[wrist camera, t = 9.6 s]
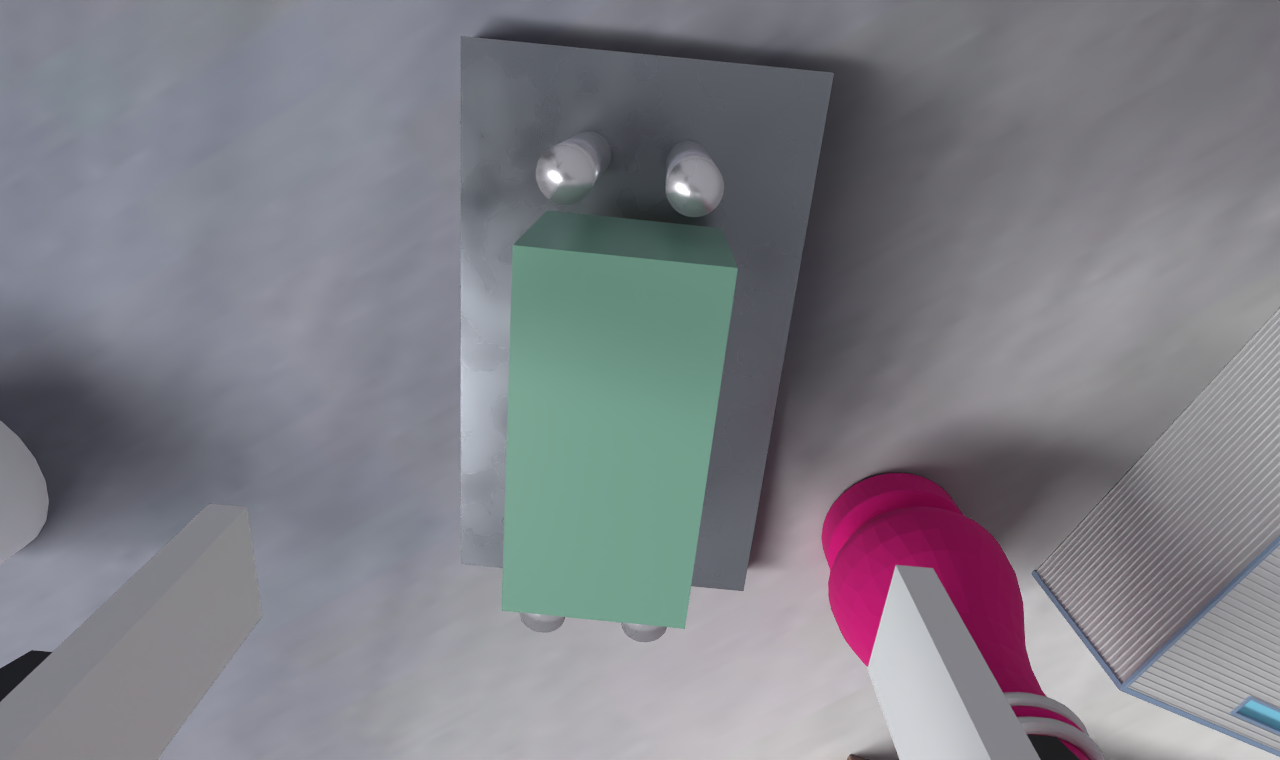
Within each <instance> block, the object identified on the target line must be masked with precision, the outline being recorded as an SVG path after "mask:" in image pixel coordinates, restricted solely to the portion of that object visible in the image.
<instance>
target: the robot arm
mask: <svg viewBox="0 0 1280 760" xmlns="http://www.w3.org/2000/svg"><path fill="white" fill-rule="evenodd" d="M261 617H262V611H261V603H260V596H259V589H258V581H257V574H256V566H255V559H254V552H253V544H252V537H251V529H250V522H249V515H248V507H242V506H231V505H219V504H208V505H207V506H206V507H205V508H204V509H203V510H202V511H201V512H200V513H199V514H198V515H197V516H196V517H194V518H193V519H192V520H191V521H190V522H189V523H188V524H187V525H186V526H185V527H184V528H183V529H182V530H181V531H180V532H179V533H178V534H177V535H176V536H174V537H173V538H172V539H171V540H170V541H169V542H168V543H167V544H166V545H165V546H164V547H163V548H162V549H161V550H160V551H159V552H158V553H157V554H156V555H154V556H153V557H152V558H151V559H150V560H149V561H148V562H147V563H146V564H145V565H144V566H143V567H142V568H141V569H140V570H139V571H138V572H137V573H135V574H134V575H133V576H132V577H131V578H130V579H129V580H128V581H127V582H126V583H125V584H124V585H123V586H122V587H121V588H120V589H119V590H118V591H117V592H115V593H114V594H113V595H112V596H111V597H110V598H109V599H108V600H107V601H106V602H105V603H104V604H103V605H102V606H101V607H100V608H99V609H98V610H97V611H95V612H94V613H93V614H92V615H91V616H90V617H89V618H88V619H87V620H86V621H85V622H84V623H83V624H82V625H81V626H80V627H79V628H78V629H77V630H75V631H74V632H73V633H72V634H71V635H70V636H69V637H68V638H67V639H66V640H65V641H64V642H63V643H62V644H61V645H60V646H59V647H58V648H56V649H55V650H54V651H53V652H44V651H33V650H32V651H30V652H28V653H26V654H25V655H23V656H21V657H19V658H18V659H16V660H14V661H13V662H11V663H9V664H7V665H6V666H4V667H2V668H0V760H157V759H158V758H159V756H160V755H161V754H162V752H163V751H164V750H165V748H166V747H167V745H168V744H169V743H170V741H171V740H172V739H173V737H174V736H175V735H176V733H177V732H178V730H179V729H180V728H181V726H182V725H183V724H184V722H185V721H186V720H187V718H188V717H189V715H190V714H191V713H192V711H193V710H194V709H195V707H196V706H197V705H198V703H199V702H200V700H201V699H202V698H203V696H204V695H205V694H206V692H207V691H208V690H209V688H210V687H211V686H212V684H213V683H214V681H215V680H216V679H217V677H218V676H219V675H220V673H221V672H222V671H223V669H224V668H225V666H226V665H227V664H228V662H229V661H230V660H231V658H232V657H233V656H234V654H235V653H236V651H237V650H238V649H239V647H240V646H241V645H242V643H243V642H244V641H245V639H246V638H247V636H248V635H249V634H250V632H251V631H252V630H253V628H254V627H255V626H256V624H257V623H258V621H259V620H260V619H261ZM867 670H868V672H869V675H870V678H871V681H872V684H873V687H874V689H875V692H876V695H877V698H878V701H879V703H880V706H881V709H882V712H883V715H884V718H885V720H886V723H887V726H888V729H889V732H890V734H891V737H892V740H893V743H894V746H895V749H896V751H897V754H898V757H899V760H1080V759H1079V758H1078V757H1077V756H1076V755H1075V754H1074V753H1073V752H1072V751H1071V750H1069V749H1068V748H1067V747H1066V746H1065V745H1064V744H1063V743H1062V742H1061V741H1060V740H1059V739H1058V738H1057V737H1053V736H1041V735H1030V734H1026V733H1025V731H1024V729H1023V727H1022V726H1021V724H1020V722H1019V720H1018V718H1017V717H1016V715H1015V713H1014V711H1013V710H1012V708H1011V706H1010V704H1009V702H1008V701H1007V699H1006V697H1005V695H1004V694H1003V692H1002V690H1001V688H1000V686H999V685H998V683H997V681H996V679H995V678H994V676H993V674H992V672H991V670H990V669H989V667H988V665H987V663H986V662H985V660H984V658H983V656H982V654H981V653H980V651H979V649H978V647H977V645H976V644H975V642H974V640H973V638H972V637H971V635H970V633H969V631H968V629H967V628H966V626H965V624H964V622H963V621H962V619H961V617H960V615H959V613H958V612H957V610H956V608H955V606H954V605H953V603H952V601H951V599H950V597H949V596H948V594H947V592H946V590H945V589H944V587H943V585H942V583H941V581H940V580H939V578H938V576H937V574H936V572H935V571H934V569H933V568H925V567H914V566H903V565H896V566H895V569H894V573H893V577H892V580H891V584H890V588H889V591H888V595H887V599H886V603H885V606H884V610H883V613H882V617H881V621H880V625H879V628H878V632H877V636H876V639H875V643H874V647H873V650H872V654H871V658H870V661H869V665H868V669H867Z"/></svg>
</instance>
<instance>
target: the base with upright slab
mask: <svg viewBox="0 0 1280 760" xmlns="http://www.w3.org/2000/svg"><path fill="white" fill-rule="evenodd" d="M48 506H49V498H48V492H47V487H46V481H45V478H44V476H43V474H42V472H41V470H40V468H39V465H38V463H37V461H36V459H35V457H34V456H33V455H32V453H31V452H30V451H29V449H28V448H27V447H26V446H25V444H24V443H23V442H22V440H21V439H20V438H19V437H18V436H17V435H16V434H15V433H14V432H13V431H12V430H11V429H9V428H8V427H7V426H6V425H5V424H4V423H3V422H2V421H0V564H1V563H3V562H4V561H6V560H7V559H8V558H10V557H11V556H13V555H14V554H15V553H17V552H18V551H20V550H21V549H22V548H24V547H25V546H26V545H27V544H29V543H30V542H31V541H32V540H34V539H35V538H36V537H37V536H38V534H39V533H40V531H41V529H42V527H43V526H44V524H45V522H46V519H47V512H48Z"/></svg>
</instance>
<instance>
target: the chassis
mask: <svg viewBox="0 0 1280 760" xmlns="http://www.w3.org/2000/svg"><path fill="white" fill-rule="evenodd" d="M833 77H834V73H832V72H822V71H812V70H802V69H791V68H781V67H771V66H761V65H751V64H741V63H730V62H720V61H710V60H700V59H690V58H680V57H669V56H659V55H649V54H639V53H629V52H618V51H608V50H598V49H588V48H578V47H568V46H557V45H547V44H537V43H527V42H517V41H507V40H496V39H486V38H476V37H466V36H461V564H466V565H477V566H487V567H498V568H503V548H504V515H505V482H506V449H507V417H508V384H509V351H510V318H511V285H512V252H513V244H514V243H515V242H516V241H517V240H518V239H519V238H520V237H521V236H522V235H523V234H524V233H525V232H526V231H527V230H528V229H529V228H530V227H531V226H532V225H533V224H534V223H535V222H536V221H537V220H538V219H539V218H540V217H541V216H542V215H543V214H544V213H545V212H546V211H547V210H548V211H558V212H568V213H577V214H587V215H597V216H607V217H617V218H626V219H636V220H646V221H656V222H666V223H676V224H685V225H695V226H705V227H715V228H722V230H723V233H724V235H725V237H726V240H727V242H728V245H729V247H730V250H731V252H732V255H733V257H734V260H735V262H736V265H737V267H738V271H737V277H736V284H735V291H734V298H733V304H732V311H731V318H730V325H729V332H728V338H727V345H726V352H725V359H724V366H723V372H722V379H721V386H720V393H719V399H718V406H717V413H716V420H715V427H714V433H713V440H712V447H711V454H710V461H709V467H708V474H707V481H706V488H705V495H704V501H703V508H702V515H701V522H700V528H699V535H698V542H697V549H696V556H695V562H694V569H693V576H692V583H691V586H696V587H706V588H717V589H727V590H738V591H743V590H744V585H745V579H746V573H747V567H748V562H749V556H750V550H751V545H752V539H753V533H754V528H755V522H756V516H757V510H758V505H759V499H760V493H761V488H762V482H763V476H764V470H765V465H766V459H767V453H768V448H769V442H770V436H771V430H772V425H773V419H774V413H775V408H776V402H777V396H778V391H779V385H780V379H781V373H782V368H783V362H784V356H785V351H786V345H787V339H788V333H789V328H790V322H791V316H792V311H793V305H794V299H795V293H796V288H797V282H798V276H799V271H800V265H801V259H802V254H803V248H804V242H805V236H806V231H807V225H808V219H809V214H810V208H811V202H812V196H813V191H814V185H815V179H816V174H817V168H818V162H819V156H820V151H821V145H822V139H823V134H824V128H825V122H826V117H827V111H828V105H829V99H830V94H831V88H832V82H833ZM520 617H521V620H522V622H523V623H524V624H525V625H526V626H527V627H528V628H530V629H532V630H534V631H537V632H551V631H554V630H556V629H558V628H559V627H560V626H561V625H562V624H563V622H564V619H565V617H561V616H551V615H541V614H531V613H521V612H520ZM622 628H623V631H624V632H625V634H626V635H627V636H628V637H630V638H631V639H633V640H636V641H639V642H650V641H654V640H656V639H658V638H660V637H661V636H662V635H663V634H664V633H665V631H666V628H667V627H662V626H652V625H642V624H632V623H622Z"/></svg>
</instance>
